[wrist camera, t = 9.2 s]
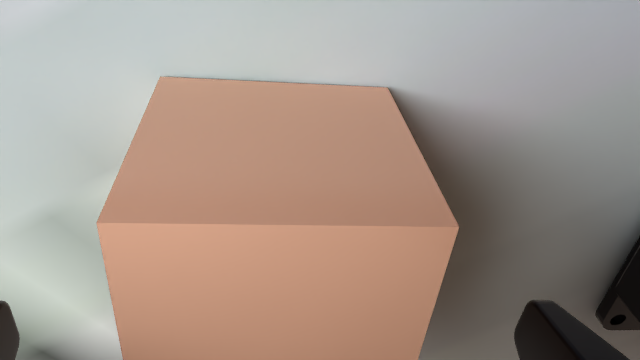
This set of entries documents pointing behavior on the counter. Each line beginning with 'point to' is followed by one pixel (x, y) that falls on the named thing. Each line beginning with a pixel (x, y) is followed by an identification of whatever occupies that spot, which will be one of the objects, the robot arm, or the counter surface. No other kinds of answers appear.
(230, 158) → the terracotta cube
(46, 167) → the counter surface
